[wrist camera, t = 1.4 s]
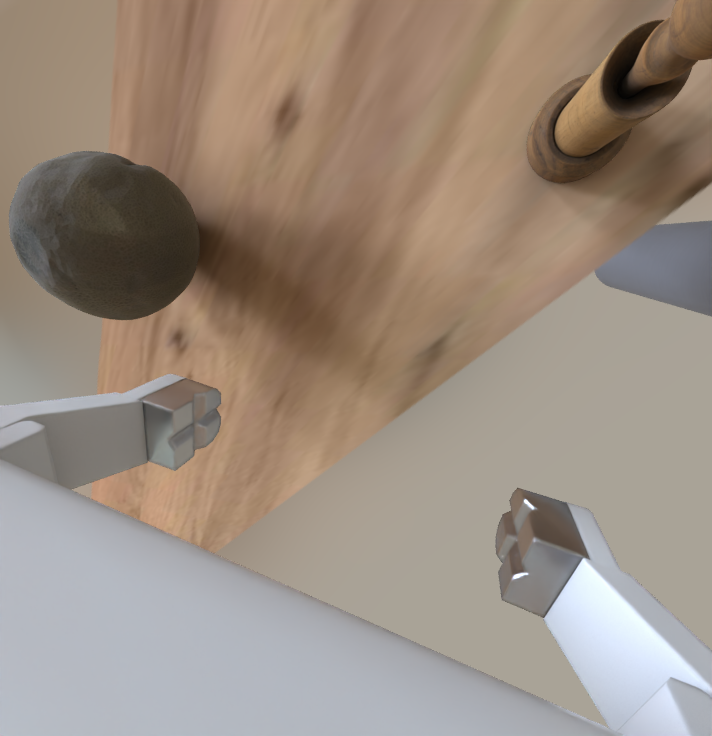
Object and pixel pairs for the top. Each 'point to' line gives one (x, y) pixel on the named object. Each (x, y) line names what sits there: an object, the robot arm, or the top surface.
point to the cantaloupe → (105, 234)
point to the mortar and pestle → (618, 94)
